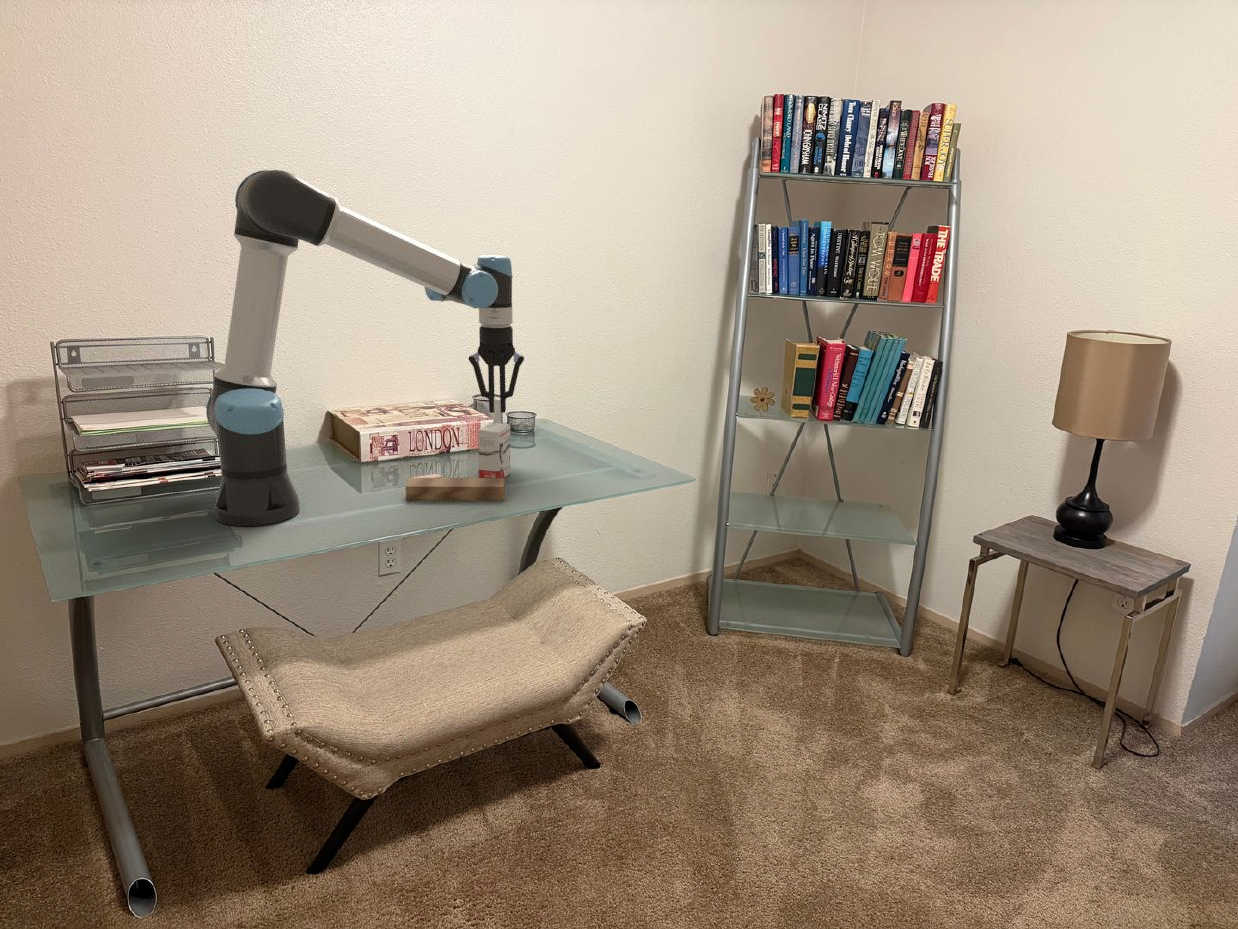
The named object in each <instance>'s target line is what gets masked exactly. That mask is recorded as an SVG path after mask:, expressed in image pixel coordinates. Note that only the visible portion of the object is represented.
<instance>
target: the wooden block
mask: <svg viewBox="0 0 1238 929" xmlns="http://www.w3.org/2000/svg"><path fill="white" fill-rule="evenodd" d="M505 480H506V477H505V478H479V477H442V478H411V477H409V478H408V480H407V482H406V484H405V486H404V487H405V501H505V491H506V490H505V487H506V485H505Z"/></svg>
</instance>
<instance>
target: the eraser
mask: <svg viewBox="0 0 1238 929" xmlns="http://www.w3.org/2000/svg"><path fill="white" fill-rule="evenodd" d="M410 478H443V476H442V475H440V474H439V473H433V474H425V475H419V476H413V477H410Z"/></svg>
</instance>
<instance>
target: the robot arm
mask: <svg viewBox="0 0 1238 929" xmlns="http://www.w3.org/2000/svg"><path fill="white" fill-rule="evenodd" d="M234 197H235V198H234V200H235V207H236V208H235V209H236V216H235V226H234V234H233V236H234V238H235V239H236V240H237V242H238V243H239V244H240V252H239V259H238V266H237V267H238V268H237V273H236V280H235V289H234V295H233V301H232V302H233V303H232V310H231V316H230V323H229V331H228V337H227V339H228V340H227V344H226V352H225V358H224V359H225V360H224V365H223V367H222V368H221V369H220V370H218V371H217V372H215V373H214V377H213V383H212V384H213V385H212V392H211V394H210V396H209V398H208V401H207V404H206V418H207V422H208V424H209V426H210V428H211V430H212V431H213V433H214V434H215V436H216V438H217V442H218V444H217V445H218V451H219V462H220V463H219V464H220V471H221V473H220V474H221V480H220V484H219V488H218V492H217V496H216V500H215V504H214V512H215V520H217V521H218V522H219V523H221V524H225V525H229V526H234V527H235V526H236V527H252V526H253V527H255V526H265V525H272V524H276V523H280V522H283V521H287V520H289V519H291V518H293V517H295V516H296V515H298V514H299V513H300V511H301V510H300V509H301V508H300V499H299V496H298V493H297V491H296V489H295V487H294V484H293V482H292V480H291V477H290V475H289V473H288V472H289V471H288V464H287V463H288V462H287V461H288V460H287V450H286V449H287V448H286V439H285V426H284V425H285V424H284V415H285V411H284V407H283V405H282V400H281V398H280V397H279V395H278V394H277V386H278V383H277V382H276V381H275V380H276V379H274V378H273V377H272V374H271V373H272V366H273V358H274V351H275V346H276V339H277V332H278V326H279V319H280V313H281V305H282V300H283V294H284V285H285V277H286V273H287V266H288V259H289V256H290V255H292V254H293V253H294V252H297V251H298V246H299V241H303V242H305V243H308V244H311V245H313V246H316V247H320V246H323V245H327V246H329V247H331V248H334V249H337V250H338V251H341V252H342V253H345V254H347V255H350V256H353V257H354V258H357V259H359V260H362V261H364V262H366V263H369V264H371V265H374V266H375V267H378V268H380V269H382V270H385V271H388V272H390V273H392V274H394V275H396V276H399V277H401V278H404V279H406V280H408V281H410V282H413V283H415V284H418V285H419V286H422V287H424V292H425V295H426V297H427V298H428V300H430V301H433V302H435V301H437V302H449V301H450V302H454V303H457V304H462V305H465V306H468V307H470V308H472V309H478V323H479V324H480V326H479V327H478V328H479V329H478V330H479V333H478V334H479V335H478V336H479V346H478V348H477V351H476V352H475V353H472V354H470V355H469V357H468V361H469V363H470V364H471V365H472V367H473V371H474V374H475V378H476V381H477V385H478V389H479V392H480V393H479V394H480V396H481V397H482V398H486V399H488V411H489V413H490V414H492V413H493V415H494V416H493V418H494V419H493V422H494V423H501V424H502V414H504V413H506V410H507V405H506V404H507V403H506V402H507V401H506V400H507V399H508V398H513V396H514V392H515V388H516V384H517V380H518V376H519V371H520V367H521V365H522V364H523V362H524V361H525V356H524V355H523V354H520V353H518V352H517V351H516V348H515V347H514V340H513V339H514V338H513V337H514V336H513V335H514V334H513V333H514V332H513V330H514V329H513V326H512V325H511V324H513V323H514V322H513V321H514V320H513V269H512V268H513V267H512V261H511V259H510V257H508V256H506V255H499V254H498V255H491V254H490V255H487V254H486V255H479V256H478V257H477V261H476V264H472V265H468V264H466V263H463V262H461V261H459V260H457V259H456V258H453V257H451V256H449V255H447V254H444V253H442V252H440V251H439V250H436V249H434V248H431V247H429V246H427V245H425V244H423V243H420V242H419V241H416V240H414V239H412V238H410V237H408V236H406V235H403V234H401V233H399V232H397V231H394V230H393V229H390V228H388V227H386V226H384V225H382V224H380V223H378V222H376V221H374V220H371V219H369V218H367V217H364V216H363V215H361V214H359V213H356V212H354V211H353V210H352V211H351V210H350V209H348V208H345V207H343V206H341V204H340V202H339V201H338V198H336V197H335V196H332V195H330V194H329V193H326V192H325V191H322V190H320V189H318V188H317V187H315V186H314V185H311V184H310V183H308V182H306V181H305V180H303V179H302V178H300V177H298V176H296V175H295V174H293V173H290V172H289V171H285V170H281V169H272V170H271V169H265V170H264V169H263V170H258V171H255V172H252V173H251V174H248V176H246V177H245V178H244V179H243V180H242V181H241V183H240V184H239V185H238V187H237V190H236V192H235V196H234ZM512 357H513V362H514V365H513V369H512V374H511V379H510V382H509V386H508V390H507V391H506V365H508V364H509V362H510V360H511V359H512ZM480 358H481V360H483V362H484V363H485V364H486V365H487V371H488V372H487V373H488V375H487V376H488V391H487V388H486V384H485V381H484V377H483V373H482V370H481V367H480V363H479V362H480V361H481V360H480ZM495 367H498V368H499V397H495V395H496V394H495Z"/></svg>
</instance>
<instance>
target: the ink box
mask: <svg viewBox="0 0 1238 929" xmlns="http://www.w3.org/2000/svg"><path fill="white" fill-rule="evenodd" d="M477 435H478V478H505V479H506V477H507V476H508V475H510V474H511V424H508V423H507V424H506V423H502V422H501V423H494V421H493V422H488V423H487V424H485V425H484V426H482V427H480V428H479V429H478V434H477Z"/></svg>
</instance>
